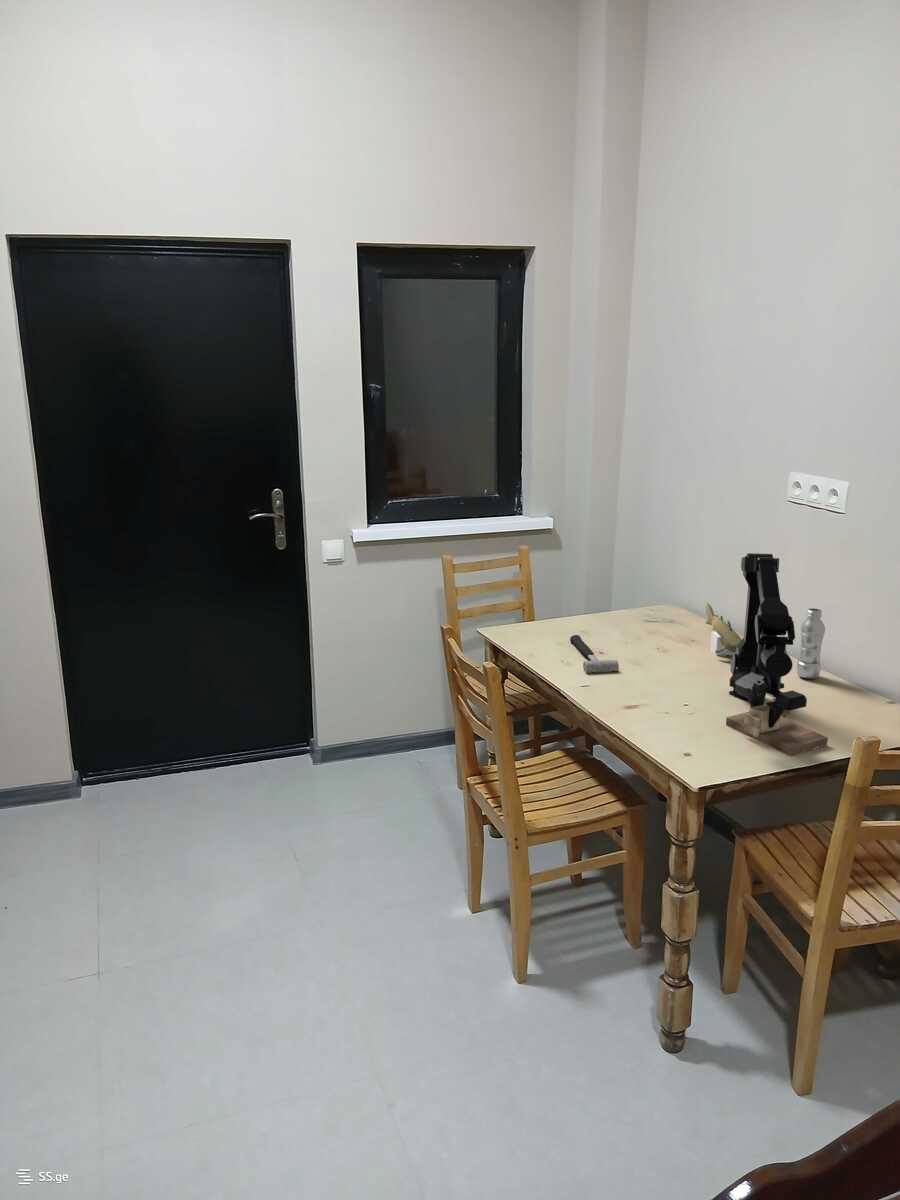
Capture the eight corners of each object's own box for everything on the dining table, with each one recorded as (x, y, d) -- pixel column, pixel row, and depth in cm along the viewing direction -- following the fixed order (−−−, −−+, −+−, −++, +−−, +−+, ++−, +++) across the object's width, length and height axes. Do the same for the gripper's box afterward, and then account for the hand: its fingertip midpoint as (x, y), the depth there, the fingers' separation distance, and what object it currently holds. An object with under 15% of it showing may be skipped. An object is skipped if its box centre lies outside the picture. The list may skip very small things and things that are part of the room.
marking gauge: (743, 731, 200) (745, 708, 198) (779, 721, 205) (781, 700, 203) (755, 737, 196) (757, 714, 195) (792, 727, 201) (794, 705, 200)
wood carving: (718, 633, 279) (720, 601, 277) (753, 668, 246) (756, 632, 243) (691, 633, 280) (693, 601, 277) (723, 669, 246) (726, 633, 243)
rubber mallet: (589, 632, 272) (619, 661, 243) (589, 643, 273) (618, 673, 244) (560, 634, 271) (586, 663, 242) (560, 645, 272) (586, 675, 243)
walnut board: (725, 724, 207) (726, 716, 206) (761, 715, 212) (761, 708, 212) (790, 756, 190) (791, 747, 189) (827, 745, 195) (828, 737, 194)
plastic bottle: (791, 677, 238) (798, 610, 233) (801, 671, 243) (808, 605, 238) (814, 683, 234) (821, 614, 229) (823, 676, 238) (831, 609, 233)
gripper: (714, 656, 200) (710, 716, 204) (775, 680, 184) (769, 745, 188) (749, 649, 205) (744, 708, 209) (811, 672, 189) (804, 735, 193)
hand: (763, 724), depth 199 cm, fingers closed on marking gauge, 4 cm apart
